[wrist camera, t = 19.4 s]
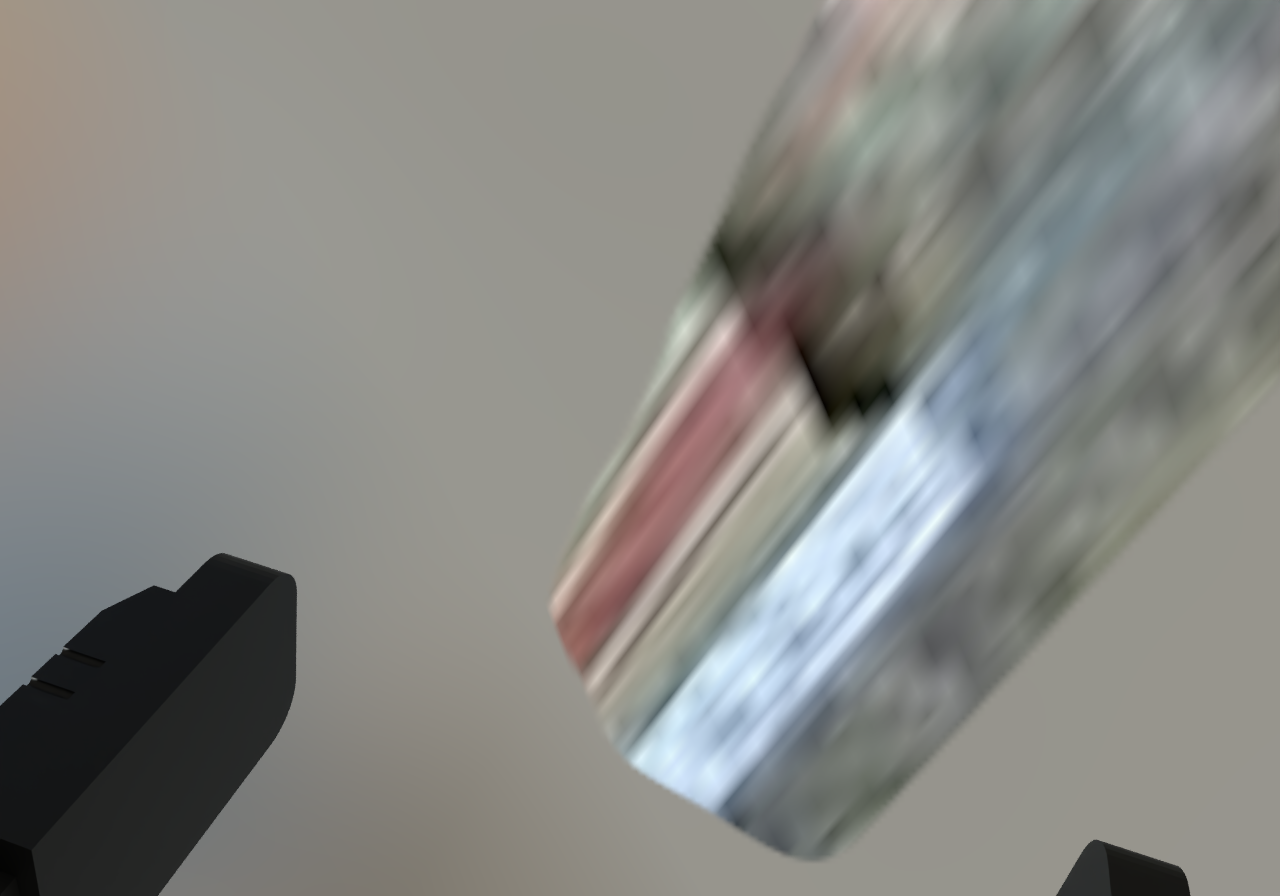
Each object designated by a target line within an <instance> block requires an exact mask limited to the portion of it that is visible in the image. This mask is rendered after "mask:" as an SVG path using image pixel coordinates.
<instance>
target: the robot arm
mask: <svg viewBox="0 0 1280 896" xmlns="http://www.w3.org/2000/svg"><path fill="white" fill-rule="evenodd" d="M296 588H297V587H296V582H295V580H294V578H293V577H292V576H291V575H290V574H287V573H284V572H281V571H278V570H275V569H271V568H268V567H265V566H262V565H259V564H256V563H253V562H250V561H247V560H244V559H241V558H237V557H234V556H231V555H228V554H225V553H220V554H217V555H215V556H213V557H212V558H210V559H209V560H208V561H207V562H205V563H204V565H202V566H201V567H200V568H199V569H198V570H197V572H195V573H194V574H193V575H192V577H190V579H188V580H187V581H186V582H185V583H184V584H183V585H182V586H181V587H180V588H179V589H178V590H177V592H172V591H169V590H166V589H163V588H160V587H157V586H152V587H150V588H148V589H146V590H144V591H142V592H140V593H137V594H135V595H133V596H131V597H129V598H127V599H125V600H123V601H121V602H119V603H117V604H115V605H113V606H111V607H108V608H107V609H104V610H102V611H101V612H100V613H99V614H98V615H97V616H96V617H95V618H94V619H93V620H91V621H90V622H89V623H88V624H87V625H86V626H85V627H84V628H83V629H82V630H81V631H80V632H79V633H78V634H76V635H75V636H74V637H73V638H72V639H71V640H70V641H69V642H68V643H67V644H66V645H65V646H64V647H63V651H62V653H61V654H60V655H57V654H55V655H54V656H53V657H52V658H51V659H50V660H49V661H48V662H47V663H45V664H44V665H43V666H42V667H41V668H40V669H39V670H38V671H37V672H36V673H35V674H34V675H33V676H32V677H31V681H30V683H29V684H28V685H27V686H26V685H22V686H21V687H20V688H19V689H18V690H17V691H15V692H14V693H13V694H12V695H11V696H10V697H9V698H8V699H7V700H6V701H5V702H4V703H3V704H2V705H1V706H0V896H158V895H159V893H160V892H161V891H162V889H163V888H164V887H165V885H166V884H167V883H168V881H169V880H170V879H171V877H172V876H173V875H174V873H175V872H176V870H177V869H178V868H179V867H180V865H181V864H182V863H183V861H184V860H185V859H186V857H187V856H188V854H189V853H190V852H191V851H192V849H193V848H194V846H195V845H196V844H197V843H198V841H199V840H200V839H201V837H202V836H203V835H204V833H205V832H206V830H207V829H208V828H209V827H210V825H211V824H212V823H213V821H214V820H215V819H216V817H217V815H218V814H219V813H220V812H221V810H222V809H223V808H224V806H225V805H226V804H227V803H228V801H229V800H230V799H231V797H232V796H233V794H234V793H235V792H236V790H237V789H238V788H239V786H240V785H241V784H242V782H243V781H244V779H245V778H246V777H247V776H248V774H249V773H250V772H251V770H252V769H253V768H254V766H255V765H256V764H257V762H258V761H259V760H260V758H261V757H262V756H263V754H264V753H265V752H266V750H267V749H268V748H269V746H270V745H271V744H272V742H273V741H274V739H275V738H276V736H277V734H278V733H279V731H280V729H281V727H282V725H283V723H284V721H285V719H286V716H287V714H288V711H289V709H290V706H291V703H292V699H293V695H294V690H295V683H296V617H297V614H296V613H297V612H296V611H297V589H296ZM1056 896H1190V891H1189V886H1188V881H1187V878H1186V876H1185V873H1184V872H1183V870H1182V869H1181V868H1179V867H1178V866H1176V865H1173V864H1169V863H1167V862H1164V861H1160V860H1157V859H1154V858H1151V857H1148V856H1145V855H1142V854H1139V853H1136V852H1133V851H1130V850H1127V849H1124V848H1121V847H1117V846H1114V845H1111V844H1108V843H1105V842H1102V841H1099V840H1093V841H1092V842H1090V843H1089V844H1088V845H1087V846H1086V847H1085V849H1084V850H1083V852H1082V854H1081V855H1080V857H1079V858H1078V860H1077V862H1076V863H1075V865H1074V867H1073V868H1072V870H1071V872H1070V873H1069V875H1068V877H1067V879H1066V880H1065V882H1064V884H1063V885H1062V887H1061V888H1060V890H1059V892H1058V894H1057V895H1056Z"/></svg>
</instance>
